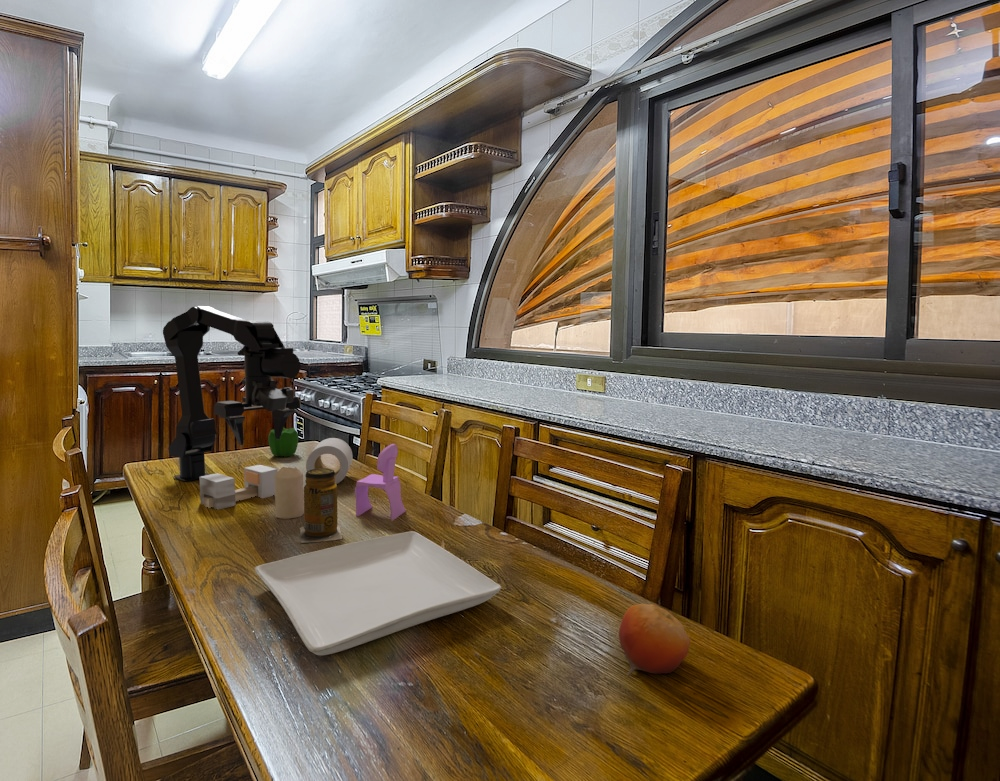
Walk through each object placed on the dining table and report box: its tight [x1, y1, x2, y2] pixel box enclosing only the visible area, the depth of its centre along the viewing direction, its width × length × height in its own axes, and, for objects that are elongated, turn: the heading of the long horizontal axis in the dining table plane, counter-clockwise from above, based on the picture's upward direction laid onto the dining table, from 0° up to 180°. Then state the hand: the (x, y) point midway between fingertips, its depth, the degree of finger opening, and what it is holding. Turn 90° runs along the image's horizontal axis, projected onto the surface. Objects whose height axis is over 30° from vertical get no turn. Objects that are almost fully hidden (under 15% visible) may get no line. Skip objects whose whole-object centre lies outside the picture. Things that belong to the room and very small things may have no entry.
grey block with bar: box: [198, 472, 259, 511], centre depth 130 cm, size 7×18×6 cm, turn 145°
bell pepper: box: [267, 427, 299, 457], centre depth 171 cm, size 8×8×10 cm
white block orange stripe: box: [243, 464, 279, 499], centre depth 133 cm, size 7×4×6 cm, turn 55°
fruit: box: [618, 603, 691, 676], centre depth 67 cm, size 8×8×8 cm
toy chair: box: [354, 443, 406, 521], centre depth 120 cm, size 8×9×15 cm
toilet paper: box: [305, 437, 353, 485], centre depth 145 cm, size 10×10×10 cm
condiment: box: [299, 467, 343, 544], centre depth 108 cm, size 7×8×12 cm
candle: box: [274, 466, 304, 520], centre depth 118 cm, size 6×6×10 cm
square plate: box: [254, 530, 502, 656], centre depth 84 cm, size 27×27×4 cm
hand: (259, 441), depth 134 cm, fingers open, 9 cm apart
